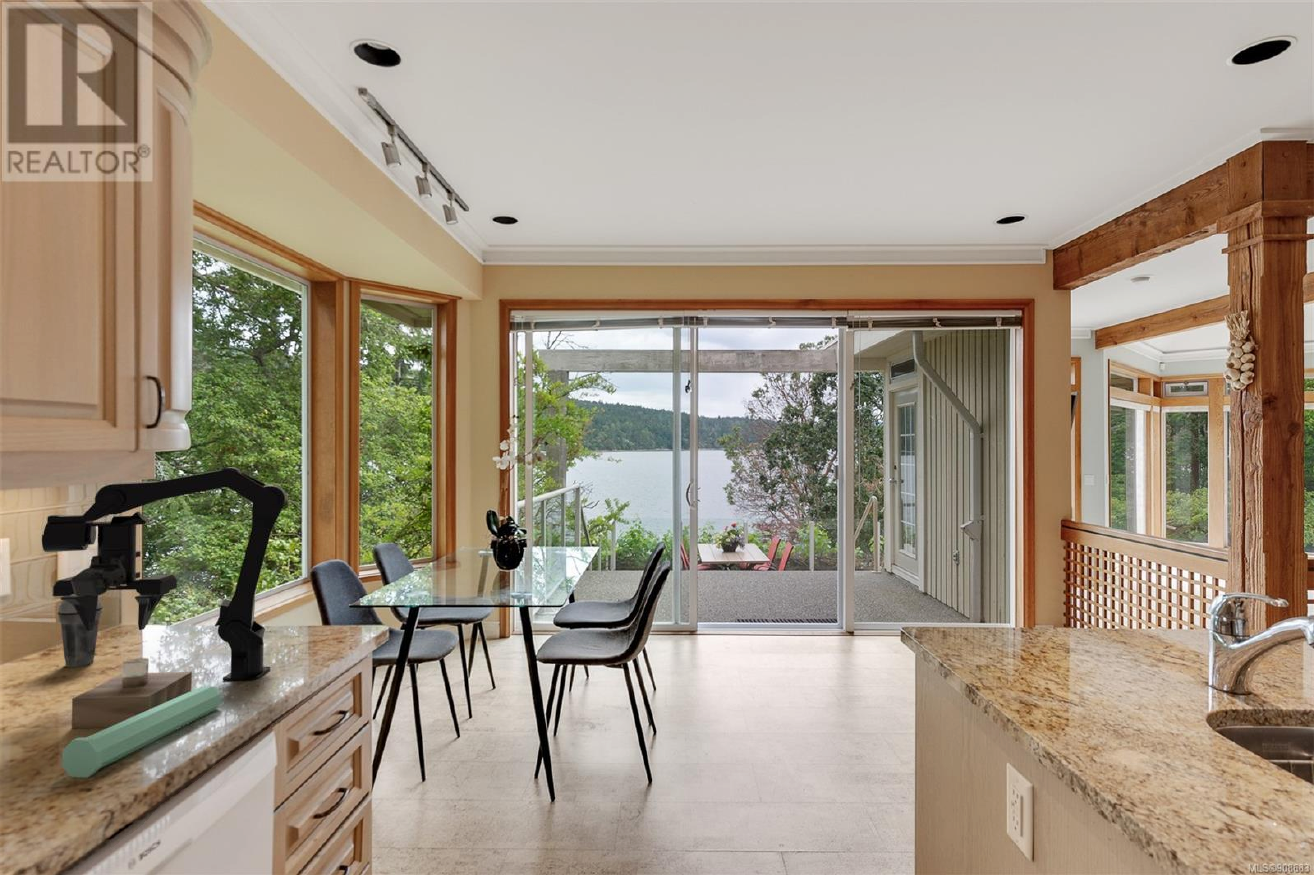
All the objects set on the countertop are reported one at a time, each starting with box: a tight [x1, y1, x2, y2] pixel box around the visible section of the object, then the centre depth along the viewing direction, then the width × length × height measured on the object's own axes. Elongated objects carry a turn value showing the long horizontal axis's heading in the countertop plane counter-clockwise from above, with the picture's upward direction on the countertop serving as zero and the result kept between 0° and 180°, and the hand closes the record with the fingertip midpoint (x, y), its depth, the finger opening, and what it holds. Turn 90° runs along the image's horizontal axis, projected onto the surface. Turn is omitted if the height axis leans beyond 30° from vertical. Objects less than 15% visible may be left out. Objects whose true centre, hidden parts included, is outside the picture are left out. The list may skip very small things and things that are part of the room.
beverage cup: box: [57, 596, 103, 668], centre depth 141 cm, size 7×7×20 cm
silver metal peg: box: [122, 657, 149, 688], centre depth 116 cm, size 4×4×8 cm
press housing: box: [71, 671, 193, 730], centre depth 116 cm, size 12×12×5 cm
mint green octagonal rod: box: [61, 685, 222, 779], centre depth 107 cm, size 6×6×25 cm
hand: (115, 630), depth 125 cm, fingers open, 9 cm apart
